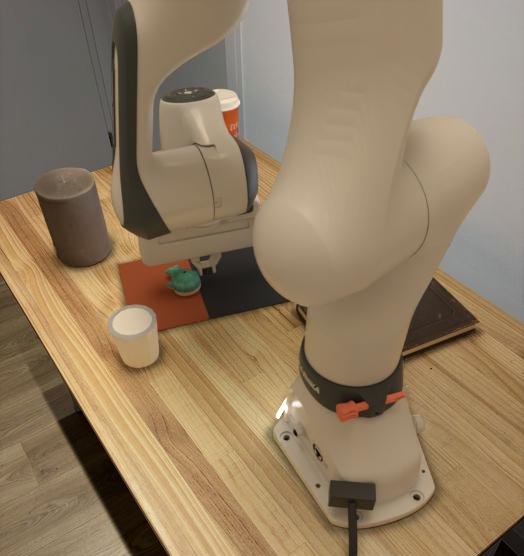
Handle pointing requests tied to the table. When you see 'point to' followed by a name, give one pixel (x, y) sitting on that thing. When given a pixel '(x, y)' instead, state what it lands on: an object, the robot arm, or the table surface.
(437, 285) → the hardcover book
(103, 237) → the pillar candle
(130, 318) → the jar candle
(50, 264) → the table surface
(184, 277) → the whale figurine
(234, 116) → the paper cup
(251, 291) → the mat
